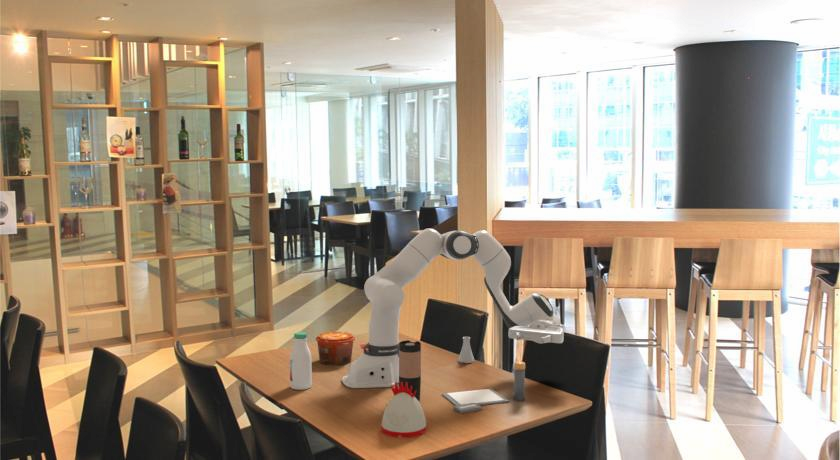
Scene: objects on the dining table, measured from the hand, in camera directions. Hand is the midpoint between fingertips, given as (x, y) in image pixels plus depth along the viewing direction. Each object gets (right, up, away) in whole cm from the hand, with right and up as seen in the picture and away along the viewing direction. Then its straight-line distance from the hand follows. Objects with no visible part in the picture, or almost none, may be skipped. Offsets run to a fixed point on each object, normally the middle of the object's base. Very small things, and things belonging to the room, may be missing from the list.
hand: (530, 339), depth 275 cm
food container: (-74, -15, +39) cm, 85 cm away
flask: (-21, -15, +40) cm, 48 cm away
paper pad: (-20, -20, -8) cm, 29 cm away
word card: (-24, -21, -20) cm, 37 cm away
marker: (-5, -20, -9) cm, 22 cm away
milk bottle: (-83, -18, +4) cm, 85 cm away
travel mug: (-43, -20, -10) cm, 48 cm away
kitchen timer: (-45, -23, -39) cm, 63 cm away
